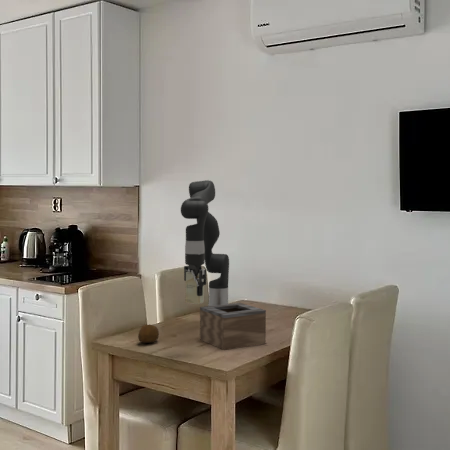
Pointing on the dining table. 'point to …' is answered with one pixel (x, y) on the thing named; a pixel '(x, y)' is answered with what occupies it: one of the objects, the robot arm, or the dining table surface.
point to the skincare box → (192, 290)
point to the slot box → (232, 325)
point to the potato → (148, 334)
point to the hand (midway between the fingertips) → (194, 294)
